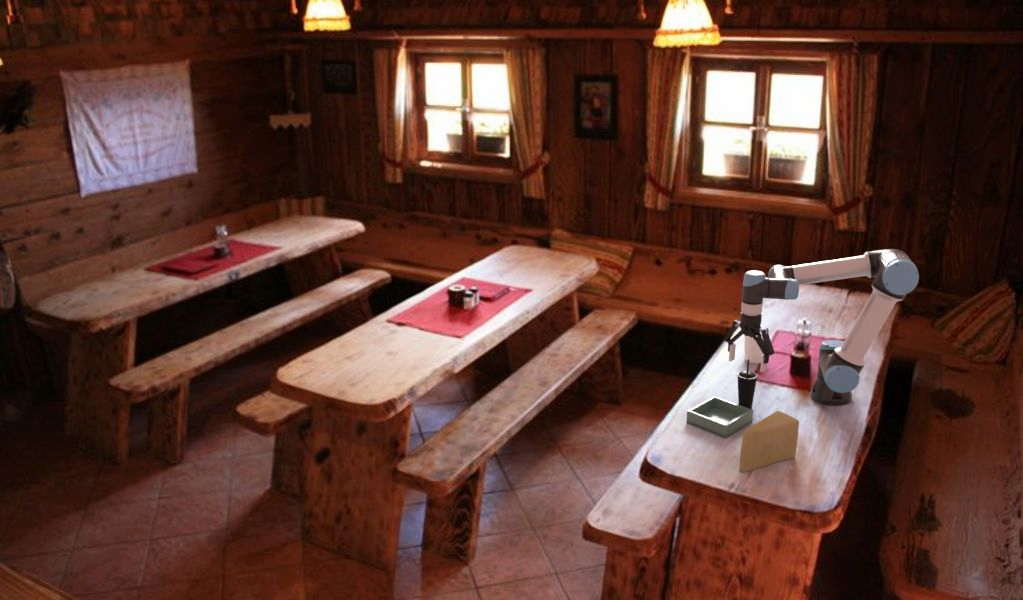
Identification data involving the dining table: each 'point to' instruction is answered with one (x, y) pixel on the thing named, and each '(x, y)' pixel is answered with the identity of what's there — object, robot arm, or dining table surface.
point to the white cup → (752, 350)
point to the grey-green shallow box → (719, 416)
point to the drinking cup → (746, 387)
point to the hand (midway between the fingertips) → (747, 365)
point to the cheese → (769, 441)
